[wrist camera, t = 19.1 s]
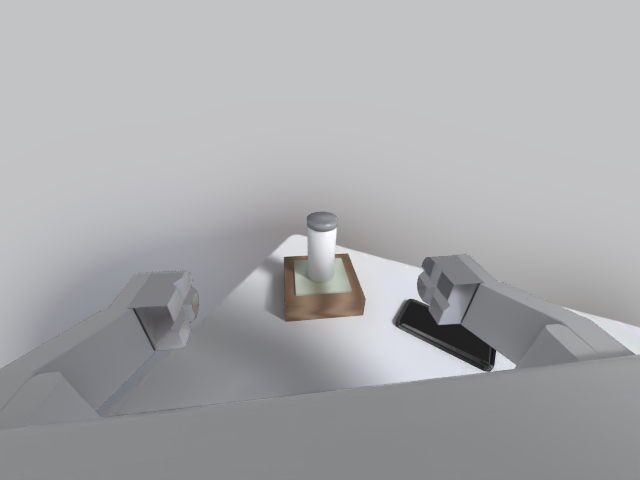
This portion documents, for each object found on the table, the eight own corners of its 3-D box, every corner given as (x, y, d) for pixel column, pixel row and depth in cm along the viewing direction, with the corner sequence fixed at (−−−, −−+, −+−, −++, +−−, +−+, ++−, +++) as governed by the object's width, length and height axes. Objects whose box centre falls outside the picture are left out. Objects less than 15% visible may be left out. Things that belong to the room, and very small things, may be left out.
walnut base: (346, 268, 58) (348, 252, 56) (362, 315, 46) (365, 297, 44) (285, 271, 56) (284, 255, 54) (285, 321, 45) (284, 303, 42)
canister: (331, 265, 52) (334, 211, 45) (336, 281, 47) (340, 224, 41) (306, 267, 51) (305, 212, 45) (308, 284, 46) (308, 226, 40)
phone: (493, 371, 37) (394, 322, 44) (490, 376, 38) (393, 327, 45) (497, 334, 42) (409, 296, 50) (495, 339, 43) (408, 300, 50)
